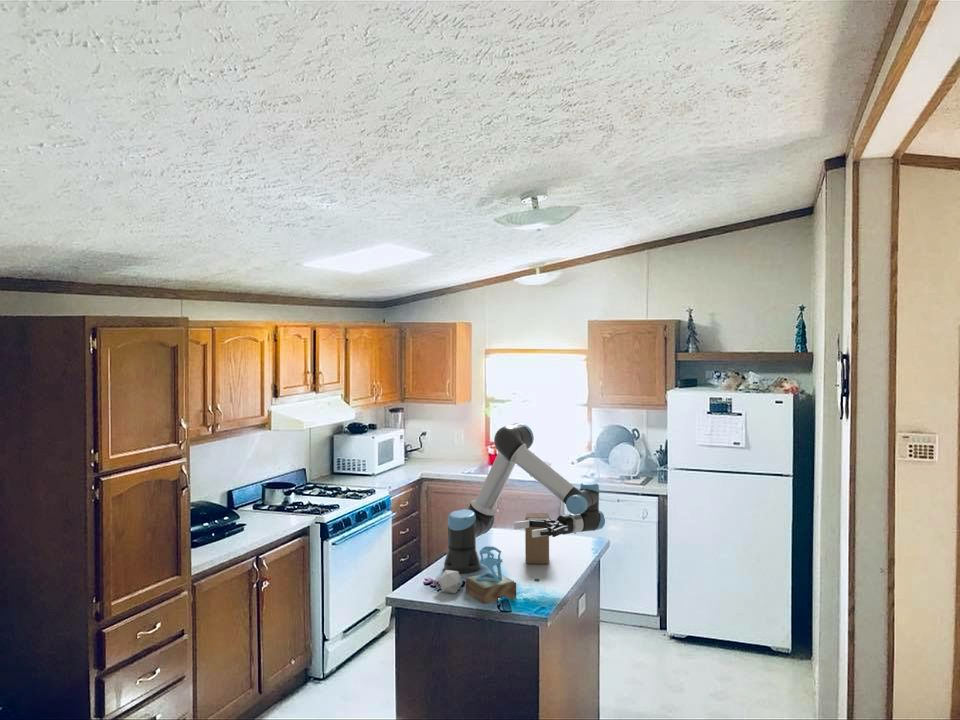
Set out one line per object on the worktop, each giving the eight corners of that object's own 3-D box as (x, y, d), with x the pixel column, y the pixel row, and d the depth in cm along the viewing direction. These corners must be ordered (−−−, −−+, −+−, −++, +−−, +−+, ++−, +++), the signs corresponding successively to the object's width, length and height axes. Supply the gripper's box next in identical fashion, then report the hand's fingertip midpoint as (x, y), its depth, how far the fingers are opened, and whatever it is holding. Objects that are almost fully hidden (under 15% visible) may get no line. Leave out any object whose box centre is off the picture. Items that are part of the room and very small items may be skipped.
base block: (483, 603, 278) (483, 587, 277) (465, 592, 290) (465, 577, 290) (516, 597, 284) (516, 581, 284) (497, 586, 297) (497, 571, 296)
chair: (494, 583, 281) (494, 551, 281) (475, 580, 286) (475, 548, 286) (505, 578, 288) (505, 546, 288) (486, 574, 292) (486, 543, 292)
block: (549, 558, 335) (548, 512, 334) (549, 564, 325) (548, 518, 324) (526, 557, 336) (526, 512, 335) (525, 564, 326) (525, 517, 325)
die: (447, 598, 286) (462, 577, 286) (430, 584, 289) (446, 563, 290) (454, 599, 293) (469, 579, 294) (438, 585, 297) (453, 565, 297)
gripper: (587, 540, 295) (540, 547, 285) (552, 526, 317) (507, 531, 307) (587, 521, 294) (540, 527, 285) (552, 508, 317) (507, 513, 307)
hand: (523, 529), depth 296 cm, fingers open, 13 cm apart
